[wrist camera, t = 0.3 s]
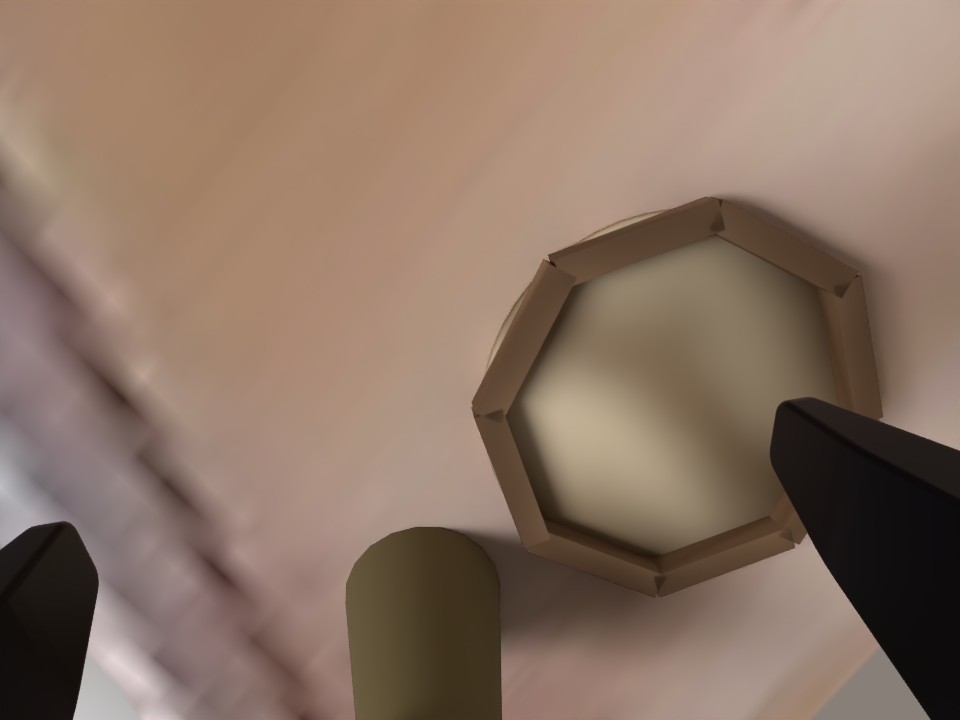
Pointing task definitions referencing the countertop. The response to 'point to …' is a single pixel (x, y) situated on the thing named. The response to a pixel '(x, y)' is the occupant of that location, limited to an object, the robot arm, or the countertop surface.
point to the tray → (667, 392)
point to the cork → (425, 629)
